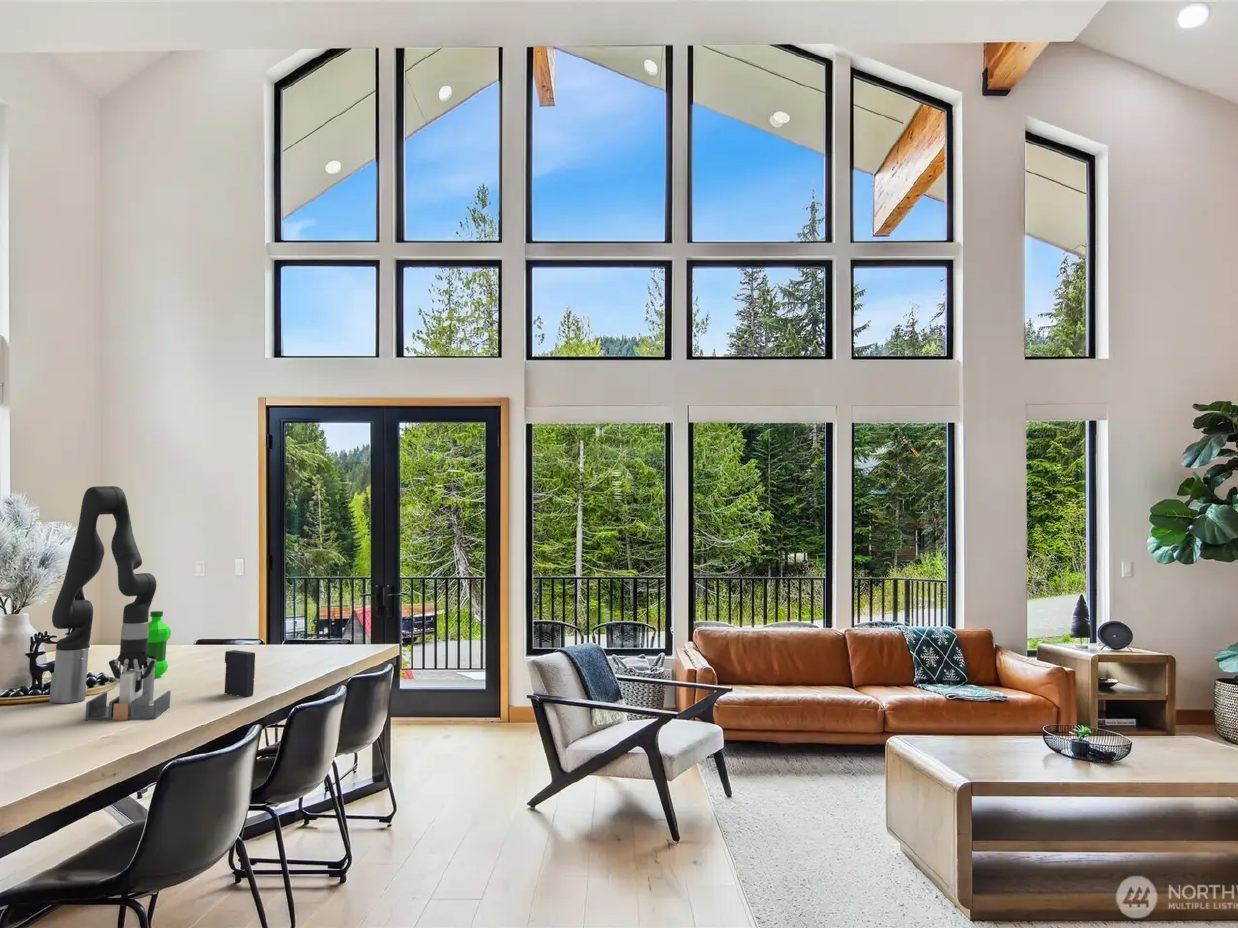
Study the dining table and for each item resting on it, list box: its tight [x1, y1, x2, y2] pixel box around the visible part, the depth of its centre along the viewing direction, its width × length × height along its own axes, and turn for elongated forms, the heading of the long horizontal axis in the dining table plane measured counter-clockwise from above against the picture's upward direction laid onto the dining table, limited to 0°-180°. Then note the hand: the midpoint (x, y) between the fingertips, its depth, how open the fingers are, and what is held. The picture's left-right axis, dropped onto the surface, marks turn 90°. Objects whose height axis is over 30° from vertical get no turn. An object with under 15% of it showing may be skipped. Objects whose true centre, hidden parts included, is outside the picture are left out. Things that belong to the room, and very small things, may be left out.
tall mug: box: [118, 656, 155, 705], centre depth 278 cm, size 9×14×15 cm, turn 71°
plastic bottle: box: [147, 610, 172, 679], centre depth 322 cm, size 10×10×25 cm
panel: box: [118, 666, 143, 714], centre depth 263 cm, size 3×12×12 cm, turn 13°
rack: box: [84, 690, 172, 722], centre depth 262 cm, size 19×16×6 cm
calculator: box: [224, 649, 256, 698], centre depth 294 cm, size 11×4×15 cm, turn 65°
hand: (131, 691), depth 263 cm, fingers closed on panel, 3 cm apart
